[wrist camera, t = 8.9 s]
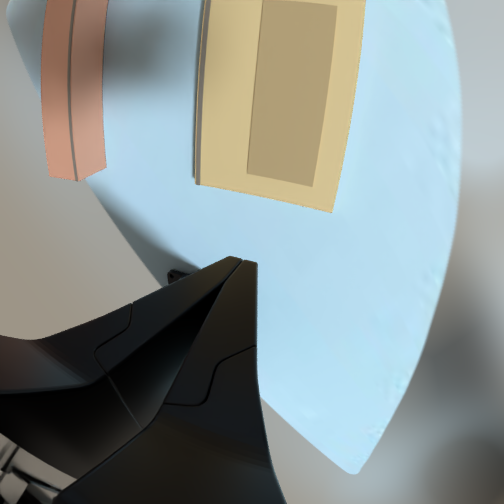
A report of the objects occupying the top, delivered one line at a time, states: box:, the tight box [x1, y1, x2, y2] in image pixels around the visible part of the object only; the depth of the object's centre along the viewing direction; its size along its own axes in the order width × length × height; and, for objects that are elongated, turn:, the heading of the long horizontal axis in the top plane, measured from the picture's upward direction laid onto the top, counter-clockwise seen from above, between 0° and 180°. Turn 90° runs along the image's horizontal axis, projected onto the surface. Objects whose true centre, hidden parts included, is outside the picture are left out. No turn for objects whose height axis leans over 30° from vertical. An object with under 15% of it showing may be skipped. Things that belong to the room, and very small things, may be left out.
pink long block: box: [41, 0, 108, 181], centre depth 17 cm, size 18×5×4 cm, turn 175°
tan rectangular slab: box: [195, 0, 366, 213], centre depth 15 cm, size 18×10×1 cm, turn 175°
